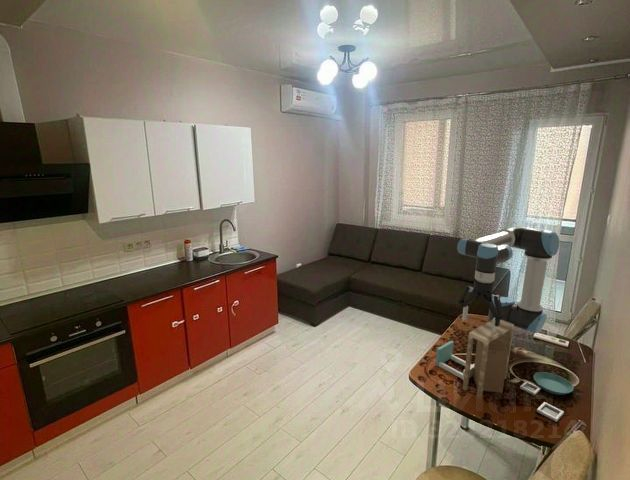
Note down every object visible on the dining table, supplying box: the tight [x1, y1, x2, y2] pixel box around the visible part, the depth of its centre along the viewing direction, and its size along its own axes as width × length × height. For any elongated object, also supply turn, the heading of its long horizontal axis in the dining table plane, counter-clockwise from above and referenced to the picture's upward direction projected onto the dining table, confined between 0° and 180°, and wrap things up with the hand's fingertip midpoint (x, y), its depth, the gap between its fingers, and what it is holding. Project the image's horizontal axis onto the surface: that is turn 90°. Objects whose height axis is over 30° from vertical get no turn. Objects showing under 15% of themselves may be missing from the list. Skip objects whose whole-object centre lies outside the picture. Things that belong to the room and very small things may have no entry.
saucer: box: [533, 371, 575, 396], centre depth 152 cm, size 15×15×3 cm
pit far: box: [536, 401, 565, 423], centre depth 137 cm, size 7×7×1 cm
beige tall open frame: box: [462, 320, 515, 400], centre depth 152 cm, size 23×8×28 cm, turn 126°
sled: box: [434, 340, 474, 381], centre depth 165 cm, size 12×16×9 cm
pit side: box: [519, 380, 542, 397], centre depth 151 cm, size 6×6×1 cm
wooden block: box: [472, 339, 508, 394], centre depth 152 cm, size 10×10×20 cm
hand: (478, 325), depth 150 cm, fingers open, 13 cm apart
